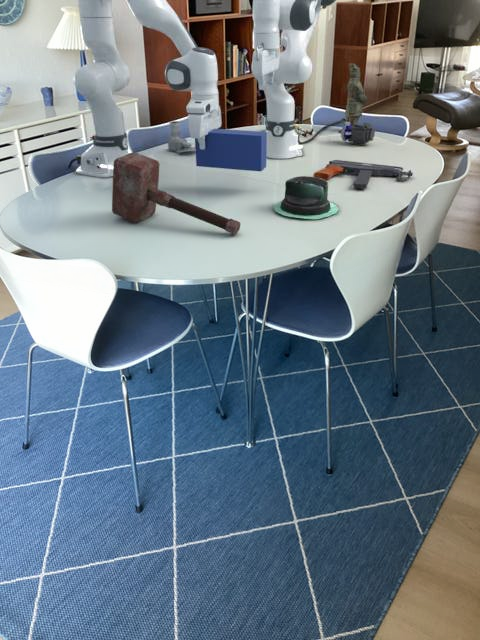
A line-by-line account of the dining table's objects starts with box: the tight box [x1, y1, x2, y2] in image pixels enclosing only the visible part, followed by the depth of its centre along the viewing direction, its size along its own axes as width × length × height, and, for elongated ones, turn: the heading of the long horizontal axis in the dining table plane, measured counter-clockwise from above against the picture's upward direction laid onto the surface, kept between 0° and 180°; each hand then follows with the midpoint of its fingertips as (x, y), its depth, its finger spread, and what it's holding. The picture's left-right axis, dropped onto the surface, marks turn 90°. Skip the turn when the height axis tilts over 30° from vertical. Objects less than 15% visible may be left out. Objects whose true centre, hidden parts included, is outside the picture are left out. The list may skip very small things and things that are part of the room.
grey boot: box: [167, 120, 195, 154], centre depth 238 cm, size 9×12×15 cm
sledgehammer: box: [111, 151, 241, 236], centre depth 161 cm, size 17×10×40 cm
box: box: [194, 128, 267, 173], centre depth 185 cm, size 23×6×12 cm, turn 71°
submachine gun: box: [313, 159, 414, 190], centre depth 199 cm, size 32×3×25 cm
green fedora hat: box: [273, 175, 339, 220], centre depth 172 cm, size 15×19×20 cm
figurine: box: [295, 118, 314, 138], centre depth 267 cm, size 13×8×25 cm
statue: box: [344, 62, 368, 127], centre depth 262 cm, size 11×9×30 cm
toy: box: [338, 121, 376, 146], centre depth 244 cm, size 9×9×15 cm
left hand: (207, 146), depth 188 cm, fingers closed on box, 6 cm apart
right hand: (265, 87), depth 190 cm, fingers open, 8 cm apart
